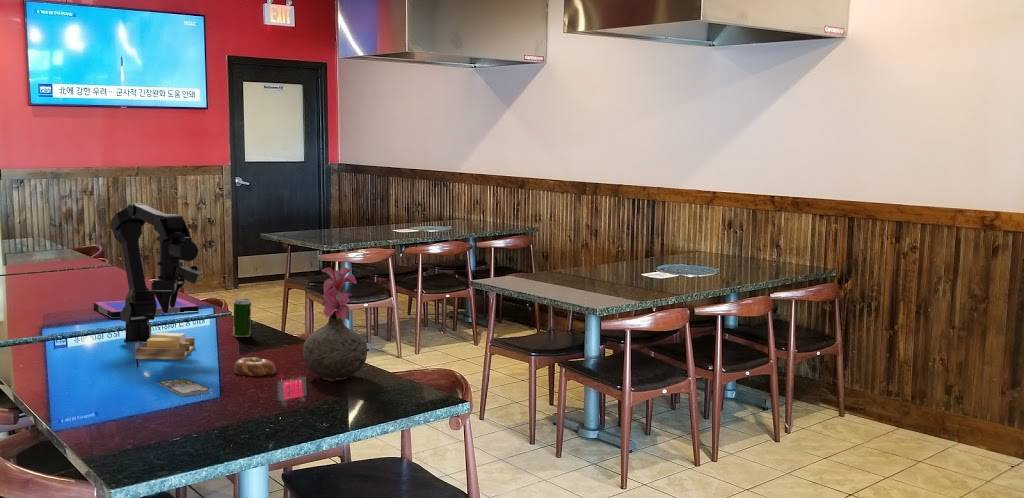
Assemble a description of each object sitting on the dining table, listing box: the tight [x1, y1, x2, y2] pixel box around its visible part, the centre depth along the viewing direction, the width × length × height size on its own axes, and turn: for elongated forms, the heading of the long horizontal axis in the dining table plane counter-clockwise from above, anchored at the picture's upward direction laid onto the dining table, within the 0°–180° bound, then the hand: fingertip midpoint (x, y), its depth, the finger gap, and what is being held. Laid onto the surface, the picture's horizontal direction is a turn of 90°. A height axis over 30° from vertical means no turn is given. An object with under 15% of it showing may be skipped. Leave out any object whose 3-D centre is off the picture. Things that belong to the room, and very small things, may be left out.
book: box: [93, 296, 199, 317], centre depth 319 cm, size 21×3×30 cm
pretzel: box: [233, 356, 277, 377], centre depth 241 cm, size 12×11×4 cm
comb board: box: [135, 336, 196, 360], centre depth 257 cm, size 13×16×3 cm
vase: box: [302, 266, 368, 379], centre depth 237 cm, size 17×17×30 cm
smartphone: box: [157, 378, 210, 397], centre depth 221 cm, size 7×1×15 cm
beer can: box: [232, 298, 252, 338], centre depth 284 cm, size 5×5×12 cm
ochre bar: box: [146, 338, 180, 348], centre depth 253 cm, size 8×4×4 cm, turn 99°
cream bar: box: [152, 331, 186, 343], centre depth 260 cm, size 8×4×4 cm, turn 87°
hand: (169, 310), depth 259 cm, fingers open, 9 cm apart
